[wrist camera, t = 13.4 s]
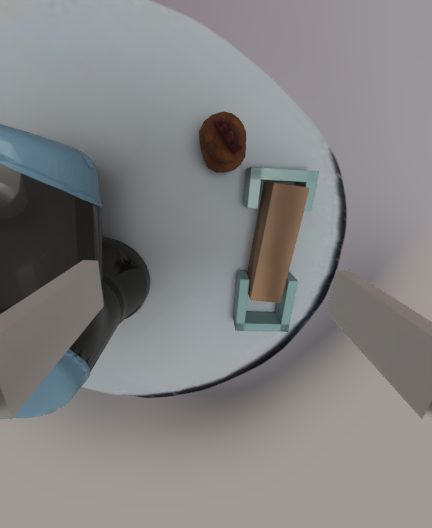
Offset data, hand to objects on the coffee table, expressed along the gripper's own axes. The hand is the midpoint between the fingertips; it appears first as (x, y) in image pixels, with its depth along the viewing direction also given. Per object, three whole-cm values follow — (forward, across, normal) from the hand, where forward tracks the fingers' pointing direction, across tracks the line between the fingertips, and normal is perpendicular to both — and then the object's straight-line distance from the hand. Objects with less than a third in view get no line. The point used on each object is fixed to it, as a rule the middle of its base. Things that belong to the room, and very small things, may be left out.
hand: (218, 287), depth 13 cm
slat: (+27, +10, -4) cm, 29 cm away
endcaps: (+27, +10, -6) cm, 29 cm away
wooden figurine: (+27, +1, +10) cm, 29 cm away
